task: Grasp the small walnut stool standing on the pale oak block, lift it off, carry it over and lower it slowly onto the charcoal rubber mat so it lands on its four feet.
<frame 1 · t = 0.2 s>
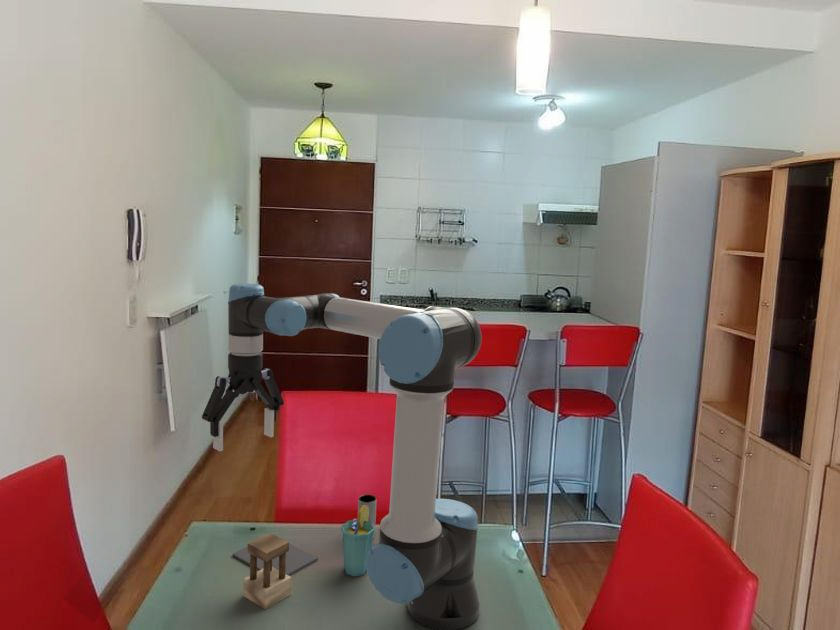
hand: (244, 442, 148), 27 cm above the table, fingers open, 13 cm apart
oak block: (267, 595, 137), on the table
mat: (275, 557, 151), on the table
cup: (355, 572, 147), on the table
stool: (267, 577, 136), point 4 cm above the table, touching oak block
grey hollow cylinder: (365, 537, 164), on the table
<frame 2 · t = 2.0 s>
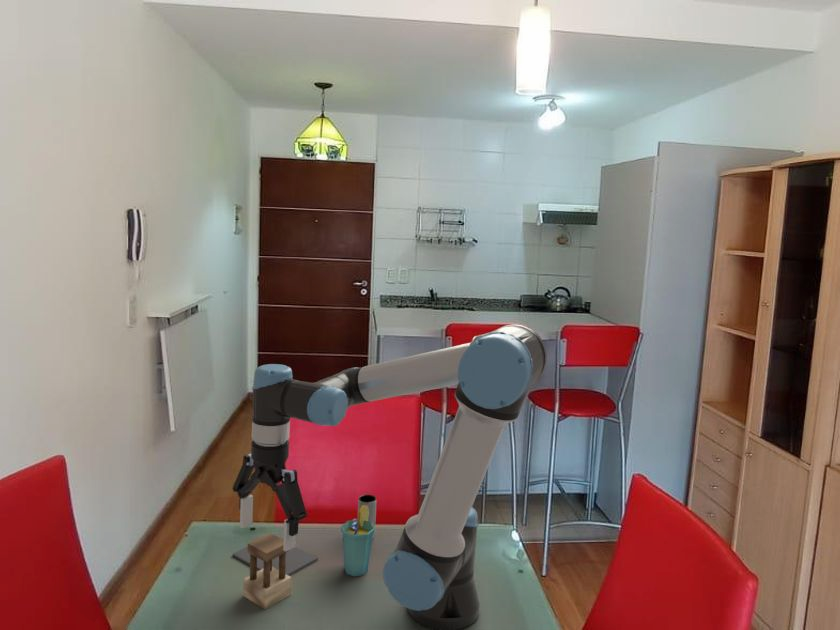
hand: (267, 536, 135), 13 cm above the table, fingers open, 13 cm apart
nothing on the table moved.
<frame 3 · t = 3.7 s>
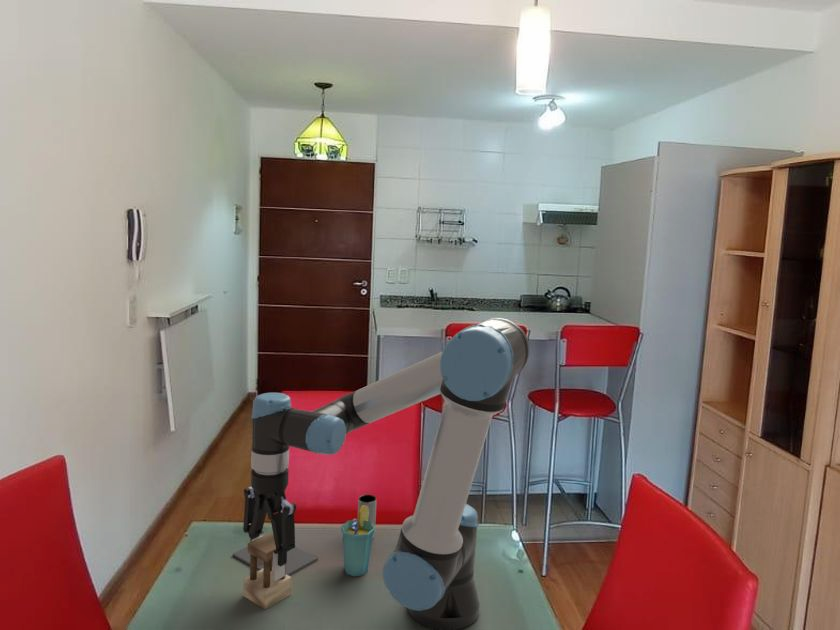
hand: (267, 571, 136), 5 cm above the table, fingers closed on stool, 6 cm apart
stool: (267, 577, 136), point 4 cm above the table, touching gripper, oak block
everything else where it was.
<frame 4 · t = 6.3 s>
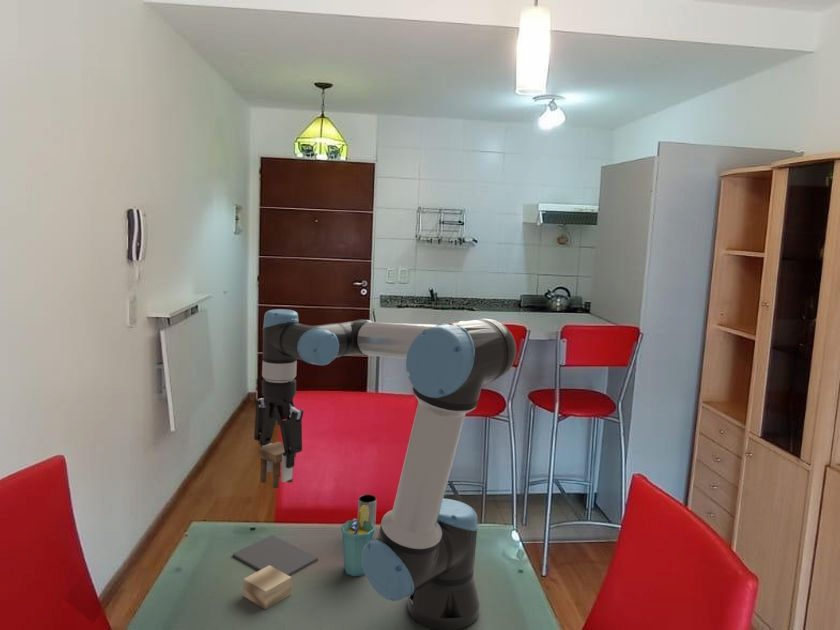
hand: (276, 475, 148), 20 cm above the table, fingers closed on stool, 6 cm apart
stool: (276, 481, 148), point 19 cm above the table, touching gripper
everything else where it was.
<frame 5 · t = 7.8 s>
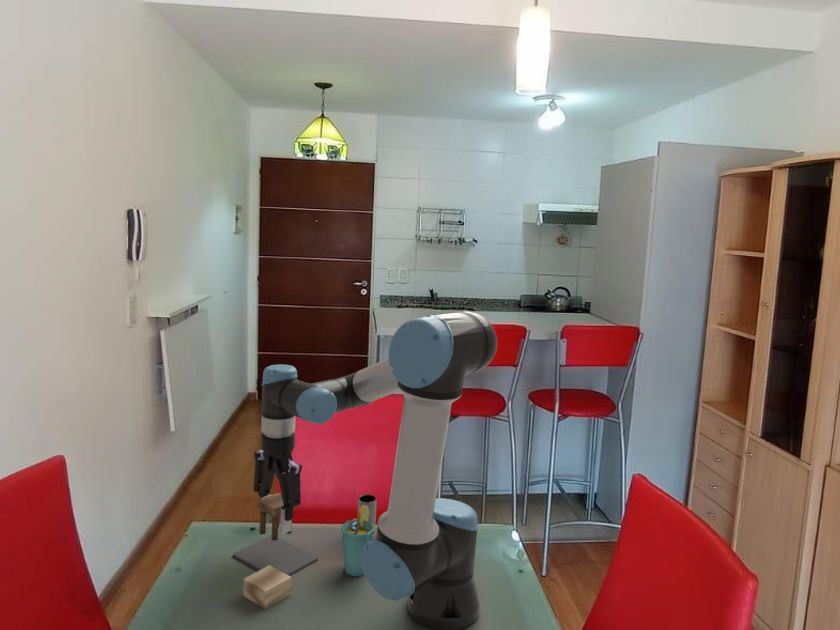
hand: (275, 527, 150), 8 cm above the table, fingers closed on stool, 6 cm apart
stool: (275, 532, 150), point 6 cm above the table, touching gripper
everything else where it was.
when the fingers open (3 cm above the table, at t = 9.0 s): stool drops 1 cm, resting on mat.
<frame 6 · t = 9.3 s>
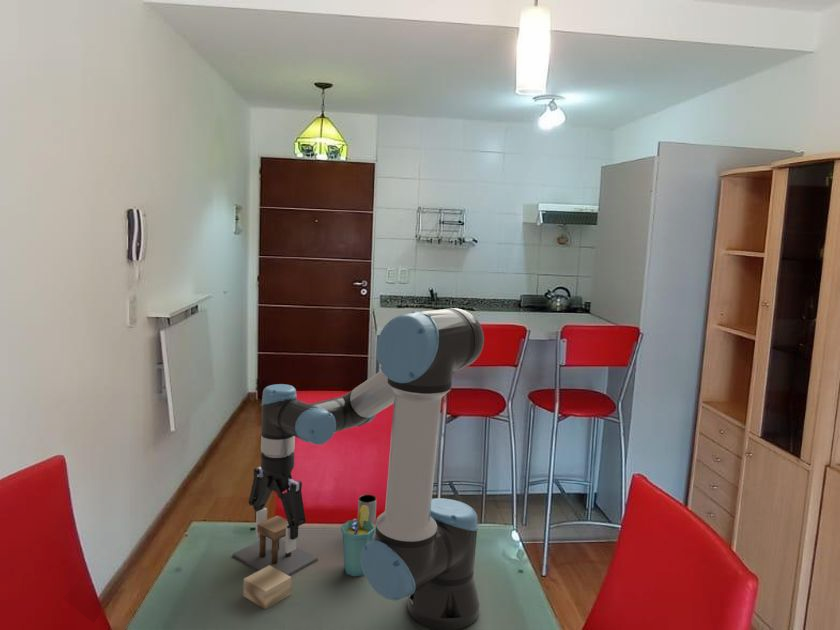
hand: (275, 543, 151), 4 cm above the table, fingers open, 9 cm apart
stool: (275, 555, 151), point 1 cm above the table, touching mat
everything else where it was.
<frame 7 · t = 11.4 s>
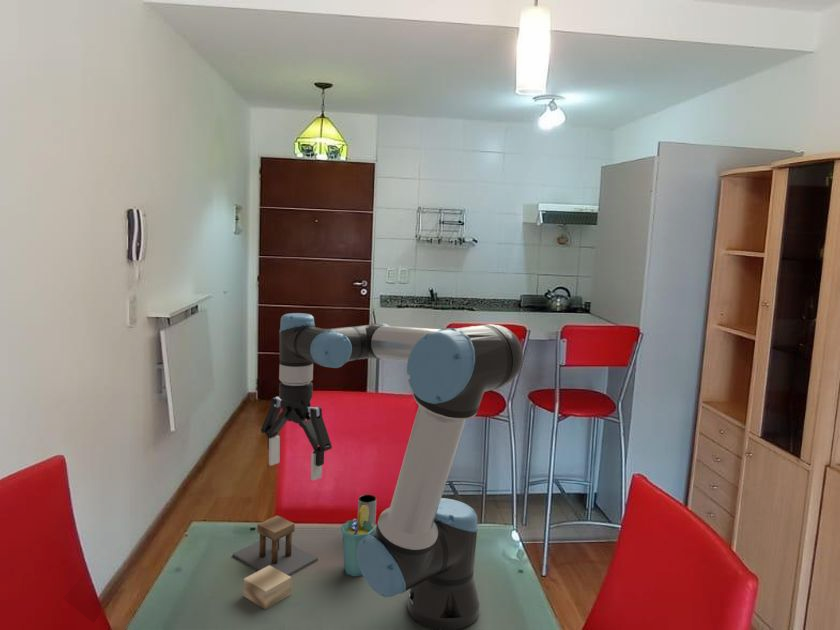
hand: (294, 471, 149), 21 cm above the table, fingers open, 13 cm apart
nothing on the table moved.
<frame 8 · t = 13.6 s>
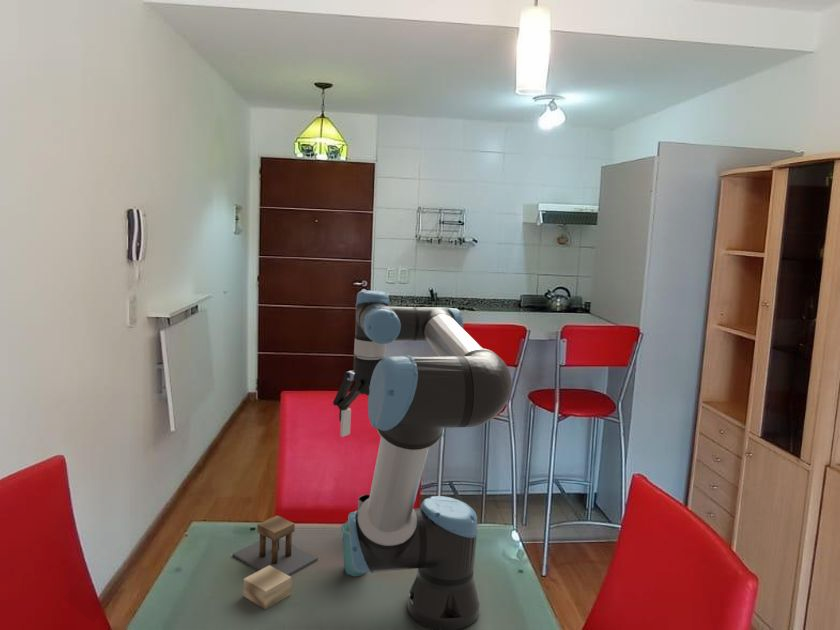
hand: (366, 442, 155), 27 cm above the table, fingers open, 13 cm apart
nothing on the table moved.
at the end: stool inside the target area on the mat (0.0 cm from its centre), point 0.6 cm above the mat's base; stool tilted 0°; the gripper is holding nothing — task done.
